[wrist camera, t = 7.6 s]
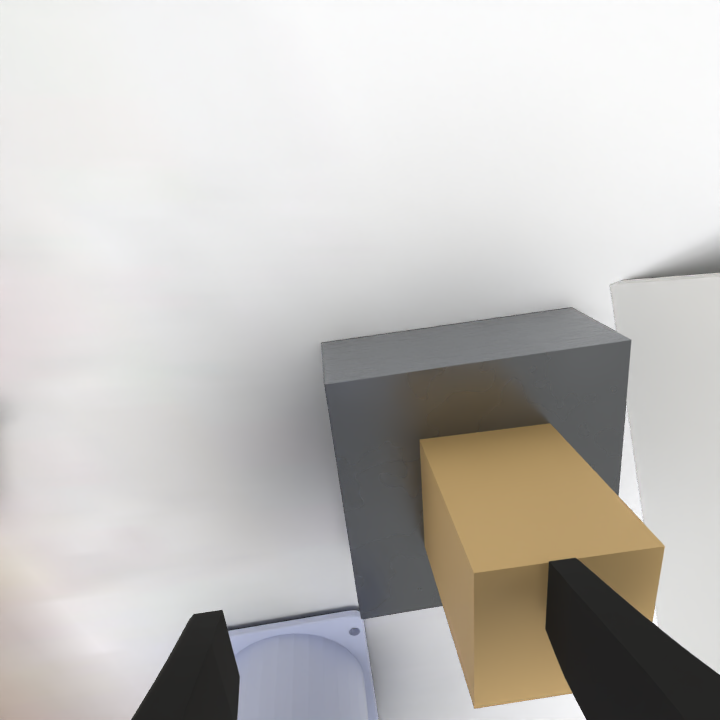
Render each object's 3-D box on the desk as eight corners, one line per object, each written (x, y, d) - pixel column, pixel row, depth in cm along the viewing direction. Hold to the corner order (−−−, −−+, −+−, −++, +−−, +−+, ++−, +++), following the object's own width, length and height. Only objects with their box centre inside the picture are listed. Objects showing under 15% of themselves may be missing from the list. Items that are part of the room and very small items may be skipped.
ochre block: (543, 530, 19) (642, 682, 13) (424, 546, 19) (474, 709, 13) (550, 423, 17) (665, 546, 12) (419, 439, 17) (474, 573, 12)
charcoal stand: (564, 513, 24) (611, 577, 20) (352, 547, 23) (361, 619, 20) (572, 307, 20) (631, 339, 17) (321, 342, 20) (324, 384, 16)
